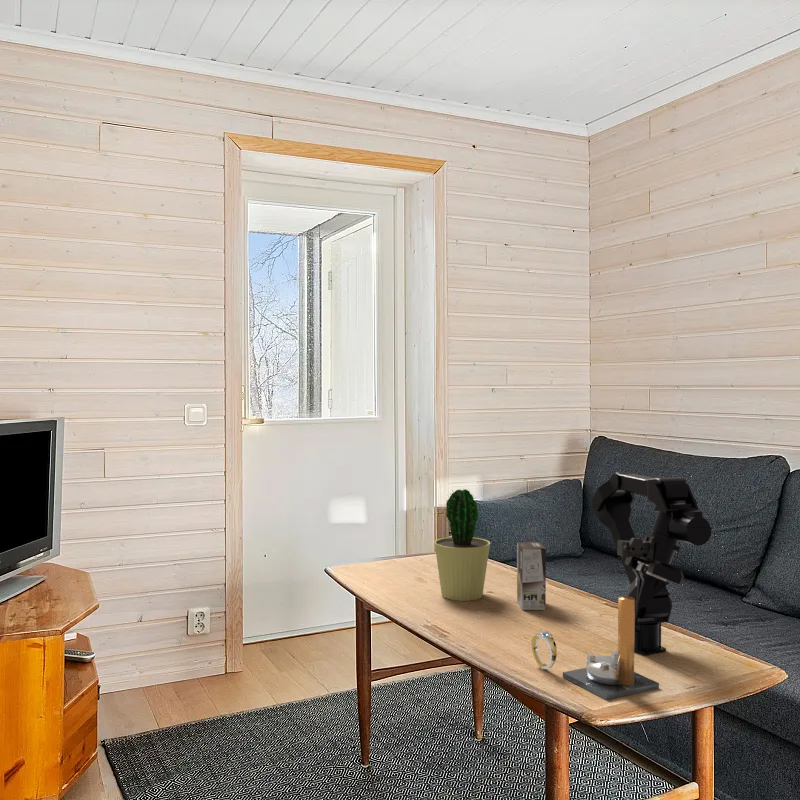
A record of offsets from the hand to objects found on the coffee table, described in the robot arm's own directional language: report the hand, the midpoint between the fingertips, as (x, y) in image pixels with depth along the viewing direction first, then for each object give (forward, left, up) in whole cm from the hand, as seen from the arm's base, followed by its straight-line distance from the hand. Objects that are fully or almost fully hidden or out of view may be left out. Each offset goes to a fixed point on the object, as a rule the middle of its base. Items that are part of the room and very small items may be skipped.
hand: (638, 607), depth 169 cm
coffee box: (-7, -48, -13) cm, 50 cm away
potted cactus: (+4, -65, -13) cm, 66 cm away
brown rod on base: (+12, +6, -11) cm, 17 cm away
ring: (+19, -8, -13) cm, 24 cm away
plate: (+11, +4, -12) cm, 17 cm away
